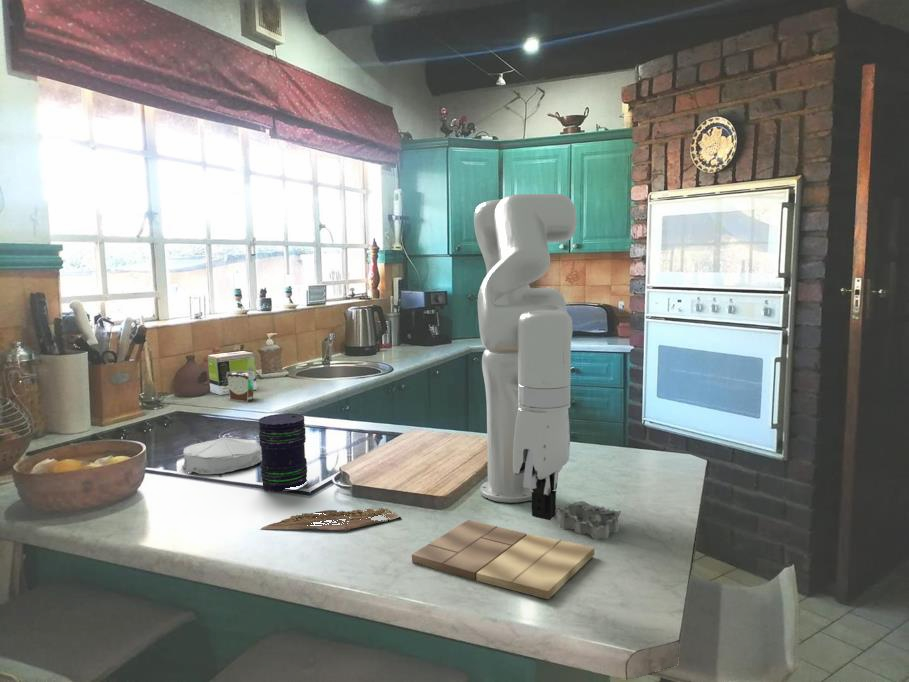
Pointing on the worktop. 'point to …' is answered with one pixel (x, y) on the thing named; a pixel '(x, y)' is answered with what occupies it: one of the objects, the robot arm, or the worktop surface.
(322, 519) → the wooden fragment
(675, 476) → the worktop surface
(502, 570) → the plank
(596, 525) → the egg carton
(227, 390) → the tea box
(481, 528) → the laid board
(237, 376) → the food container
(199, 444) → the food container
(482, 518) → the worktop surface
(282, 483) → the storage jar
